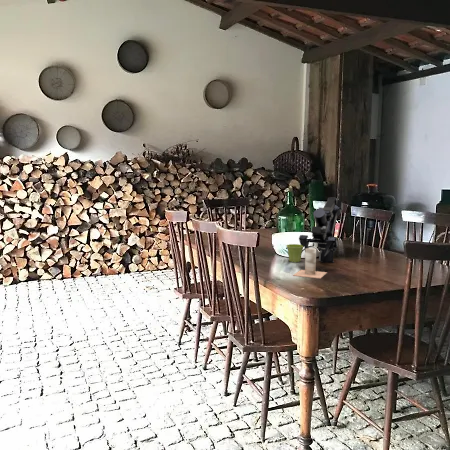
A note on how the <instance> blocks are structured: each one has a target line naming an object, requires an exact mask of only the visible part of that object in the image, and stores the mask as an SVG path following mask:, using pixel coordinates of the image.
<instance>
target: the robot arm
mask: <svg viewBox="0 0 450 450" xmlns="http://www.w3.org/2000/svg"><path fill="white" fill-rule="evenodd" d="M342 211H344V203H343V201H341V200H339V199H338V198H337V197H327V201H326V202H325V204H324V206H323V207H318V208H317V209H315V210H314V211H313V218H314V222H315V224H316V226H312V227H311V234H312V235H311V236H312V238H311V237H309V236H308V235H305V234H300V235H299V237H298V241H299V245H303V248H304V250H305V249H306V248H310V247H309V244H310V243H313V244H314V243H315V244H317V250H318V251H319V253H318V254H319V257H318V261H320V262H321V263H323V264H325V263H330V264H331V263H335V262H334V252H336V251H337V248H338V246H339V242H338V238H337V237H336V236H334V235H333V234H334V231H335V227H336V223H337V218H338V216H340V215H341V214H342Z"/></svg>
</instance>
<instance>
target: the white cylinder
mask: <svg viewBox="0 0 450 450" xmlns="http://www.w3.org/2000/svg"><path fill="white" fill-rule="evenodd" d="M304 255H305V256H304V270H305V274H307V275H315V271H316V269H317V267H316V265H317V264H316V263H317V249H316V248H313V247H308V248H306V249H305V248H304Z"/></svg>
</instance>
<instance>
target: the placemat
mask: <svg viewBox="0 0 450 450" xmlns="http://www.w3.org/2000/svg"><path fill="white" fill-rule="evenodd" d="M327 274H328V272H325V271H318V270H317V271H315V275H307V274H305V269H300V270H299V271H297V272H296V273H294V274H293V275H292V276H293V277H302V278H311V279H319V280H320V279H322V278H323V277H324V276H325V275H327Z"/></svg>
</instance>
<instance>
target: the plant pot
mask: <svg viewBox="0 0 450 450" xmlns="http://www.w3.org/2000/svg"><path fill="white" fill-rule="evenodd" d="M286 248H287V255H288V262H291V263H300V262H301V261H302V260H301V259H302V253H303V250H304V247H303V245H301V244H300V243H299V244H298V243H297V244H296V243H289V244H286Z"/></svg>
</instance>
